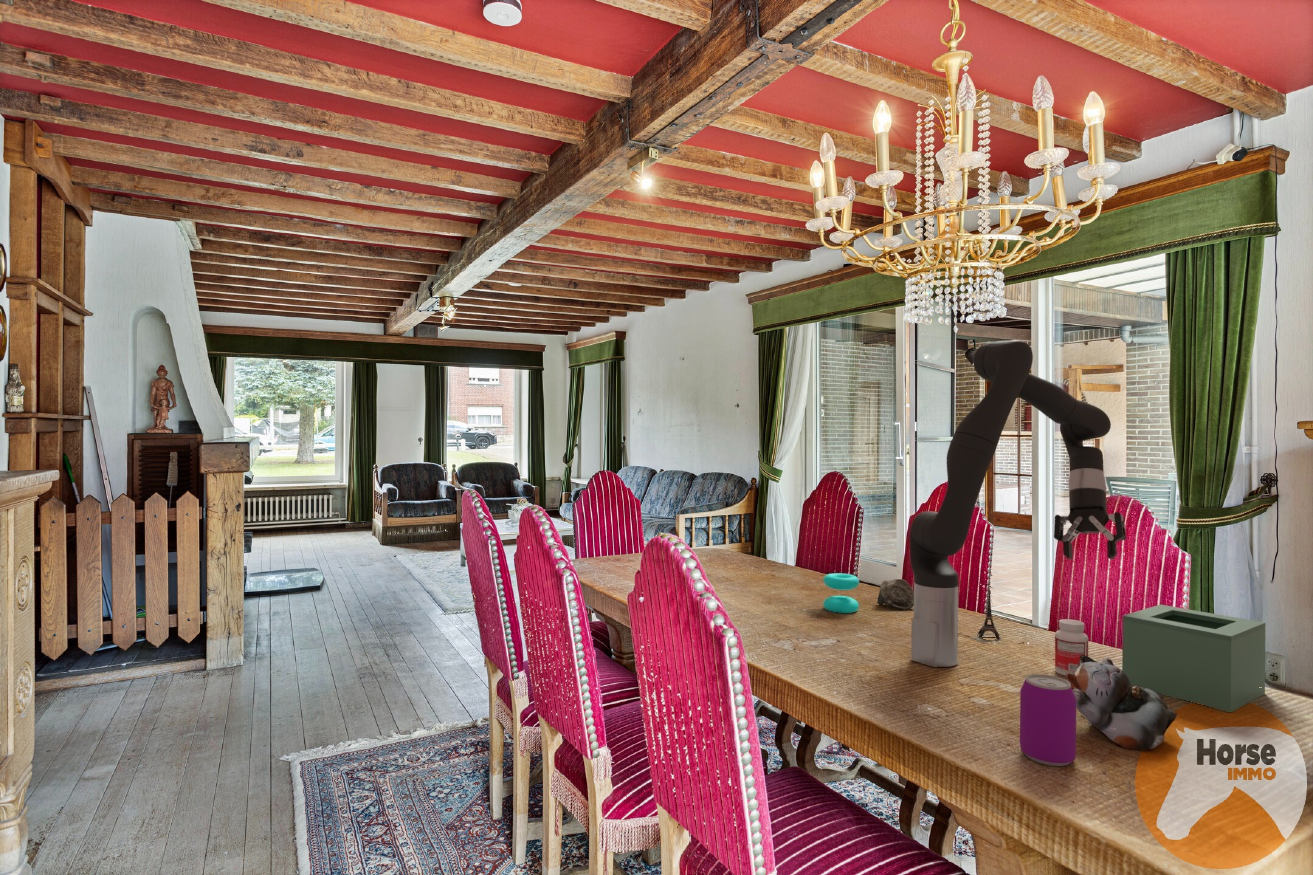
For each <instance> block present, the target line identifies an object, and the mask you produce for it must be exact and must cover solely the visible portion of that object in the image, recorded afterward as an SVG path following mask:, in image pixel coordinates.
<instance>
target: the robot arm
mask: <svg viewBox="0 0 1313 875" xmlns="http://www.w3.org/2000/svg"><path fill="white" fill-rule="evenodd" d="M1033 354H1034V352H1033V350H1032V348H1031V346H1030V344H1029V343H1028V342H1026V341H1024V340H1019V339H1018V340H1015V339H1014V340H998V341H989V342H986V343H983V344H982V345H980V346H979V347H978V348H977V349H976V351H975V352H974V355H973V360H972V361H973V368H974V370H975V372H976V373H977V376H979V377H980V378H982V379H983V380H985V381H987V382H989V383H991V384H990V386H989V388H988V390H987V392H986V394H985V395H984V397H983V398H982V399H981V400H980V402H978V404H977V405H975V406H974V407H973V409H971V410H970V411H969V412H968V413H967V414H966V415H965V416H964V418H962V419H961V421H960V423H959V424H958V426H957V427H956V430H954V434H953V436H952V439H951V442H950V444H949V447H948V450H947V452H946V473H947V474H946V477H947V485H946V486H947V487H946V491H945V494H944V498H943V500H942V503H941V506H940V508H939V509H938V511H930V510H928V511H927V510H926V511H925V510H924V511H922V512H919V513H918V514H917V515H916V516H915V517H914V519H913V520H912V522H911V524H910V530H909V556H910V557H909V558H910V568H911V571H912V573H913V581H914V582H913V586H914V587H913V591H914V606H913V617H912V618H911V629H910V630H911V639H910V641H911V643H910V644H911V645H910V647H911V648H910V649H911V650H910V654H911V656H910V657H911V658H910V659H911V661H913V662H917V663H920V664H923V665H926V666H929V667H933V668H937V667H940V668H941V667H943V668H944V667H945V668H947V667H953V666H956V665H958V664H959V662H958V660H959V658H958V657H959V656H958V655H959V654H958V653H959V642H958V641H959V634H958V631H959V574H958V572H957V571H956V570H955V569H954V568H953V566H952V565H951V563H950V559H949V557H951V556H954V555H956V554H957V553H958V552H960V551H961V550H962V548H963V546H964V545H965V543H966V540H967V538H968V535H969V531H970V527H971V523H972V520H973V519H972V518H973V514H974V511H975V507H976V503H977V501H978V497H979V495H980V492H981V490H982V486H983V484H984V481H985V478H986V475H987V472H988V469H989V468H990V465H991V463H992V460H993V458H994V455H995V452H996V450H997V447H998V444H999V441H1000V438H1001V436H1002V433H1003V431H1004V429H1005V425H1006V424H1007V422H1008V418H1009V416H1010V413H1011V410H1012V408H1013V407H1014V404H1015V403H1016V400H1017V398H1020V399H1022V400H1023V401H1025V402H1026V403H1028V404H1030V405H1031V406H1033V407H1034V408H1035V409H1036V410H1038V411H1039V412H1041V413H1042V414H1043V415H1045V416H1046V417H1047V418H1049V419H1050V421H1051V420H1052V421H1053V422H1054V423H1055V424H1059V431H1060V434H1061V437H1062V440H1063V442H1064V445H1065V448H1066V451H1067V455H1068V461H1069V462H1068V464H1069V477H1068V499H1069V502H1068V504H1069V505H1068V506H1069V514H1068V515H1060V514H1055V516H1054V528H1053V529H1054V530H1053V538H1054V539H1055V540H1057V541H1058V542H1062V547H1063V548H1062V549H1063V550H1062V551H1063V554H1062V555H1063V556H1064V557H1066V559H1067V560H1073V559H1074V558H1073V557H1074V556H1073V555H1074V554H1073V553H1074V552H1073V543H1072V542H1074V540H1075V539H1076V538H1077V537H1078V536H1079V535H1080V534H1083V535H1087V534H1094V535H1095V534H1096V535H1097V534H1099V533H1101V534H1102V535H1104V537H1105V538H1106V539H1107V541H1106V548H1107V558H1108V559H1109V560H1115V558H1116V557H1117V556H1118V549H1117V548H1118V546H1117V545H1118V544H1117V543H1118V542H1121V541H1125V540H1127V534H1126V532H1127V531H1126V525H1125V518H1124V517H1125V516H1124V515H1123V514H1122V513H1121V512H1120V511H1119V512H1118V511H1116V512H1114V513H1108V505H1107V485H1106V483H1107V482H1106V478H1105V471H1104V470H1105V469H1104V466H1105V465H1104V456H1103V451H1102V450H1101V449H1100V448H1097V447H1095V446H1089V445H1088V446H1084V444H1083V443H1084V441H1089V440H1090V441H1091V440H1094V439H1098V438H1099V439H1100V438H1103V437H1104V436H1106V435H1107V434H1109V432H1110V431H1111V426H1112V424H1111V420H1110V416H1108V414H1107V413H1106V412H1105V411H1104V410H1103V409H1101V408H1100V407H1098V406H1095V405H1094V404H1090V403H1088V402H1085V401H1082V400H1080V399H1077V398H1075V397H1074V396H1073V395H1072V394H1070V393H1069V392H1067V390H1065V389H1063V388H1062V387H1061V386H1059V385H1057V384H1056V383H1054V382H1051V381H1048V380H1046V379H1044V378H1041V377H1039V376H1036V375H1034V374H1032V373H1030V372H1031V370H1032V366H1033V359H1034V355H1033ZM1110 520H1111V521H1112V523H1114V524H1115V532H1116V533H1115V534H1113V533H1112V532H1111V531H1110V530H1109V529H1108V528H1107V527H1106V525H1107V524H1108V523H1109V521H1110ZM1067 522H1069V523H1070V527H1069V528H1068V529H1067V530H1066V531H1067V532H1066V533H1065V534H1064V529H1065V528H1064V526H1066V525H1067Z"/></svg>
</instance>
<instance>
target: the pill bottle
mask: <svg viewBox="0 0 1313 875" xmlns="http://www.w3.org/2000/svg"><path fill="white" fill-rule="evenodd" d="M1058 628H1059V629H1058V630H1057V631H1056V632H1055V633H1054V670H1055V672H1056V673H1057V674H1059V675H1061V676H1064V677H1066V674H1067V673H1071V674H1074V673H1075V672H1076V671H1077V668H1078V665H1079V661H1080V656H1081V655H1085V656H1088V657H1089V636H1088V635H1087V634H1086V633H1084V631H1085V622H1083V621H1080V620H1077V619H1069V618H1064V619H1060V620H1058Z"/></svg>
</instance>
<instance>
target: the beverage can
mask: <svg viewBox="0 0 1313 875" xmlns="http://www.w3.org/2000/svg"><path fill="white" fill-rule="evenodd" d="M1019 692H1020V693H1019V694H1020V695H1019V696H1020V698H1019V700H1020V701H1019V704H1020V705H1019V746H1020V751H1021V752H1023V753H1024V755H1025V756H1026V757H1027V758H1028V759H1030V760H1032V761H1033V762H1036V763H1038V764H1042V765H1045V766H1051V767H1066V766H1069V765H1070V763H1072V762H1073V763H1074V761H1075V760H1076V756H1077V755H1076V754H1077V708H1076V698H1075V695H1074V693H1073V690H1072V687H1071V684H1070V682H1068V681H1067V679H1066V678H1063V677H1059V676H1056V675H1049V674H1043V673H1042V674H1041V673H1033V674H1027V675H1026V676H1025V679H1024V681H1023V684H1022V686H1021V688H1020V691H1019Z"/></svg>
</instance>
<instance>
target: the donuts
mask: <svg viewBox="0 0 1313 875" xmlns="http://www.w3.org/2000/svg"><path fill="white" fill-rule="evenodd" d="M823 583H824V585H825V586H827V587H828V588H830V589H833V590H838V591H839V590H840V591H850V590H853V589H855V588H857V587H858V586H859V584H860V580H859V578H858V577H857V576H856V575H853V574H851V573H844V572H843V573H841V572H839V573H837V572H836V573H828V574H826V575H824V576H823ZM822 605H823V608H824V609H825V610H826V611H828V610H829V611H828V612H831V611H833V612H832V613H836V612H838V613H837V614H852V612H853V613H855V612H857V611H858V610H859V609H860V608H859V607H860V605H859V602H858V601H857V600H856V599H855V598H854V597H850V596H846V595H845V596H844V595H832V596H829V597H826V598H825V599H824V600H823V602H822Z"/></svg>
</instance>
